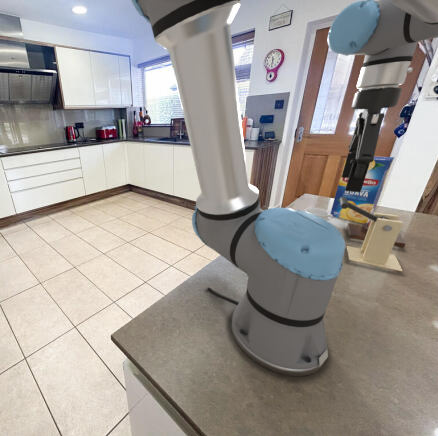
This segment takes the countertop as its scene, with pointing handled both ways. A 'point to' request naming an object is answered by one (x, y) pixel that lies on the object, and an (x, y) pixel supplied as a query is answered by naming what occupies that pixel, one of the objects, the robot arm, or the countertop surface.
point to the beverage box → (363, 191)
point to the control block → (361, 232)
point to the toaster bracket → (379, 243)
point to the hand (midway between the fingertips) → (349, 183)
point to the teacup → (319, 213)
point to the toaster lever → (358, 209)
